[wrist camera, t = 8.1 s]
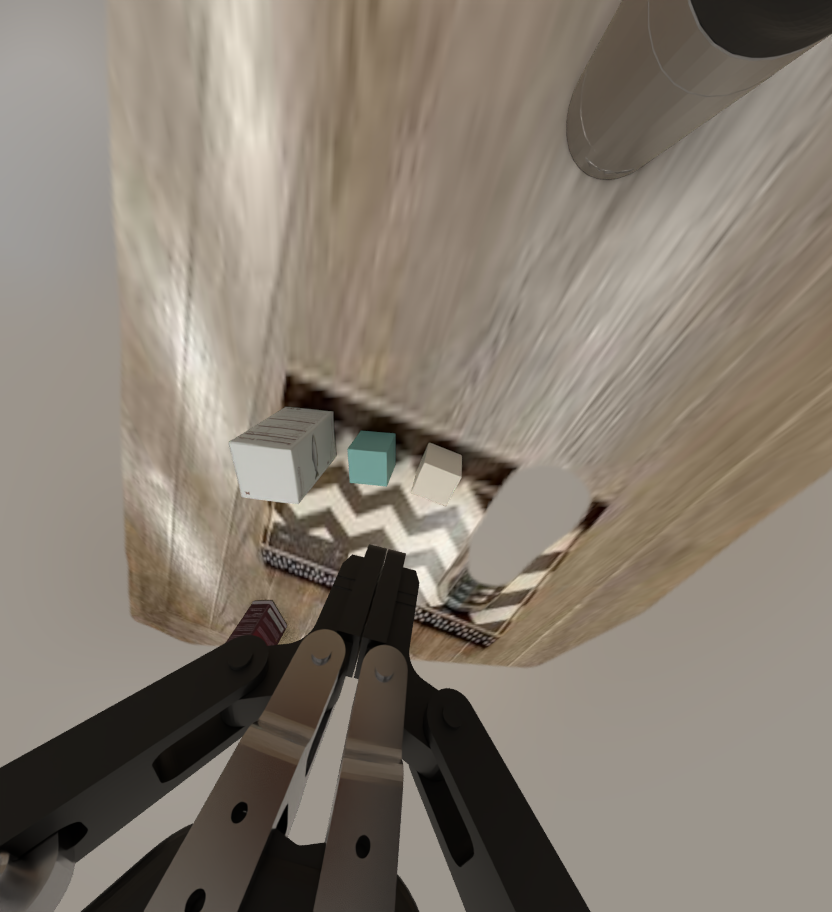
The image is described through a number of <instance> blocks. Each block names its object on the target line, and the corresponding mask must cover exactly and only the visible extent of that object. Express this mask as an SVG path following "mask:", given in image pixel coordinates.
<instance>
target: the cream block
mask: <svg viewBox="0 0 832 912" xmlns="http://www.w3.org/2000/svg"><path fill="white" fill-rule="evenodd" d="M461 477H462V455H460V454H457V453H455V452H452V451H450V450H447V449H445V448H442V447H440V446H437V445H434V444H432V443H428V446H427V448H426V450H425V453H424V455H423V457H422V460H421V462H420V464H419V467H418V469H417V472H416V476H415V479H414V483H413V487H412V491H411V493H412V494H414V495H417V496H420V497H422V498H425V499H428V500H430V501H433V502H435V503H438V504H441V505H443V506H447V504H448V502H449V500H450V498H451V496H452V494H453V493H454V491H455V489H456V487H457V485H458V483H459V481H460V479H461Z"/></svg>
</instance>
